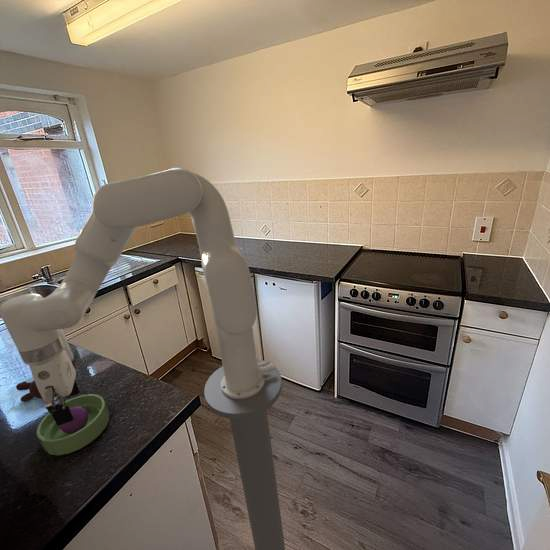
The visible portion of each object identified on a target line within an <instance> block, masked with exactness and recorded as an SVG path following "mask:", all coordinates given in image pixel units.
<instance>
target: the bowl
mask: <svg viewBox="0 0 550 550" xmlns="http://www.w3.org/2000/svg"><path fill="white" fill-rule="evenodd" d="M65 403H66V406H68V407H69V409H70V408H72V407H82V408H84V409H85V410H86V411H87V412H88V422H87V424H86V425H85V427H84V428H82V429H81V430H79V431H77V432H75V433H72V434H68V433H65V432H63V431H62V430H61V429H60V426H58V425H57V424H56V422H55V420H54V418H53V416H52V414H50V413H49V412H48V413H47V414H46V415H45V416H44V417H42V419H41V421H40V422H39V424H38V426H37V429H36V436H37V439H38V441H39V443H40V444H41V446H42V449H43V450H44V452H46V453H47V454H49V455H51V456H63V455H68V454H71V453H74V452H76V451H78V450H81V449H83V448H84V447H86V446H87V445H89V444H91V443H92V442H93V441H94V440H96V439H97V438H98V437H99V436H100V435H101V434H102V433H103V431H104V430H105V429H106V428H107V426H108V423H109V422H110V412H109V410H108V406H107V403H106V401H105V400H104V398H103V396H101V395H99V394H94V393H93V394H92V393H88V394H82V395H81V394H80V395H79V396H75V397H73V398H70V399H68V400H65ZM60 405H61V403H60Z"/></svg>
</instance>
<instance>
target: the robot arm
mask: <svg viewBox="0 0 550 550" xmlns="http://www.w3.org/2000/svg"><path fill="white" fill-rule="evenodd" d="M91 207H92V210H91V212H90V214H89V216H88V218H87V220H86V221H85V223H84V225H83V227H82V229H81V230H80V232H79V234H78V236H77V238H76V239H75V242H74V248H75V256H74V258H73V261H72V263H71V265H70V266H69V269H68V270H67V272H66V274H65V275H64V278H63V280H62V281H61V283H60V284H59V286H57V287H56V288H55V289H54V291H52V292H51V293H50V294H48V295H47V296H45V297H43V296H42V295H41V294H38V293H26V294H21V295H18V296H15V297H12V298H10V299H7V300H6V301H4V302H3V303H2V304H1V305H0V317H1V320H2V321H3V324H4V325H5V327H6V329H7V331H8V333H9V336H10V337H11V340H12V342H13V344H14V345H15V347H16V350H17V352H18V354H19V355H20V357H21V359H22V361H23V363H24V364H25V365H27V366H29V369H30V372H31V375H32V378H33V381H35V383H36V386H37V388H38V390H39V392H40V394H41V396H42V398H41V399H43V401H44V408H45V409H46V410H47V412H48V413H50V414H52V416H53V418H54V420H55V422H56V424H57V425H58V426H59V425H62V424H65V423H68V422H70V421H73V415H72V413H71V411H70V409H69V407H68V406H66V403H65V402H66V398H69V397H73V396H76V395H79V394H80V391H81V390H80V388H79V386H78V383H77V381H76V378H77V377H76V376H77V371H76V368H75V366H74V364H73V361H72V362H71V360H70V358H69V356H68V354H67V352H66V351H65V349H64V348H65V347H64V344H63V342H62V339H61V337H60V335H59V333H58V330H57V329H62V330H65V329H69V328H72V327H74V326H76V325H78V323H80V322H81V320H82V319H83V317H84V316H85V314H86V312H87V310H88V309H89V308H90V305H91V304H92V302H93V301H94V299H95V297H96V295H97V293H98V291H99V290H100V288H101V287H102V284H103V283H104V281H105V279H106V278H107V275H108V274H109V272H110V270H111V269H112V268H113V267H114V266H115V265H116V264H117V262H118V261H119V259H120V257H121V255H122V253H123V252H124V250H125V248H126V246H127V245H128V244H129V241H130V239H131V237H132V236H133V234H134V232H135V231H136V229H137V228H139V227H143V226H148V225H151V224H154V223H158V222H161V221H165V220H169V219H172V218H177V217H180V216H184V215H186V214H188V215H189V217H190V219H191V222H192V226H193V230H194V233H195V236H196V240H197V244H198V248H199V249H198V250H199V253H200V260H201V261H200V263H201V268H202V272H203V275H204V279H205V282H206V286H207V290H208V295H209V305H210V309H211V312H212V317H213V322H214V326H215V332H216V338H217V343H218V344H217V345H218V348H219V354H220V358H221V364H222V366H223V370H224V375H225V376H224V377H223V378H222V381H221V389H222V392H223V393H224V394H225V395H226V396H228V397H229V398H233V399H245V398H249V397H251V396H253V395H255V394H257V393H258V392H259V391H260V390H261V389H262V388H263V386H264V383H265V377H264V375H265V373H266V372H270V371H273V370H274V366H275V365H274V363H271V364H269V365H267V363H266V361H267V360H264V362H262V363H259V364H258V363H257V359H258V358H257V352H256V344H255V338H254V328H253V326H254V325H255V322H256V319H257V315H258V314H257V312H258V310H257V302H256V298H255V293H254V287H253V281H252V275H251V270H250V268H249V265H248V262H247V260H246V258H245V257H244V255H243V254H242V253H241V252H240V250H239V248H238V245H237V241H236V238H235V234H234V230H233V229H234V228H233V225H232V221H231V217H230V213H229V210H228V207H227V205H226V202H225V199H224V198H223V196H222V194H221V193H220V191H219V189H217V188H216V187H215V186H214V185H213V183H212V182H210V181H209V180H208V179H206V178H205V177H204V176H202V175H200V174H198V173H196V172H193V171H191V170H189V169H186V168H184V167H183V168H182V167H172V168H169V169H165V170H162V171H158V172H154V173H150V174H147V175H142V176H138V177H133V178H129V179H124V180H117V181H116V180H115V181H112V182H111V181H110V182H108V183H105V184H103V185H101V186H100V187H98V189H97V190H96V191H95V193H94V194H93V197H92V202H91ZM264 366H265V367H264ZM55 395H57V396H55ZM56 401H60V404H61V405H60V404H59V403H57V404H56Z"/></svg>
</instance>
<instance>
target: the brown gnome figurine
mask: <svg viewBox="0 0 550 550" xmlns="http://www.w3.org/2000/svg"><path fill="white" fill-rule="evenodd" d="M15 388H16V390H17V391H20V392H21V391H29V392H28V393H24V395H22V396H20V402H22V403H26V402H29V401H31V400H33V399H34V398H36V399H43V398H42V396H41V394H40V392H39V390H38V388H37V386H36V383H35V381H34V380H32V381H31V382H27V381H22V382H19V383H17V384H16V386H15Z"/></svg>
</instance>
